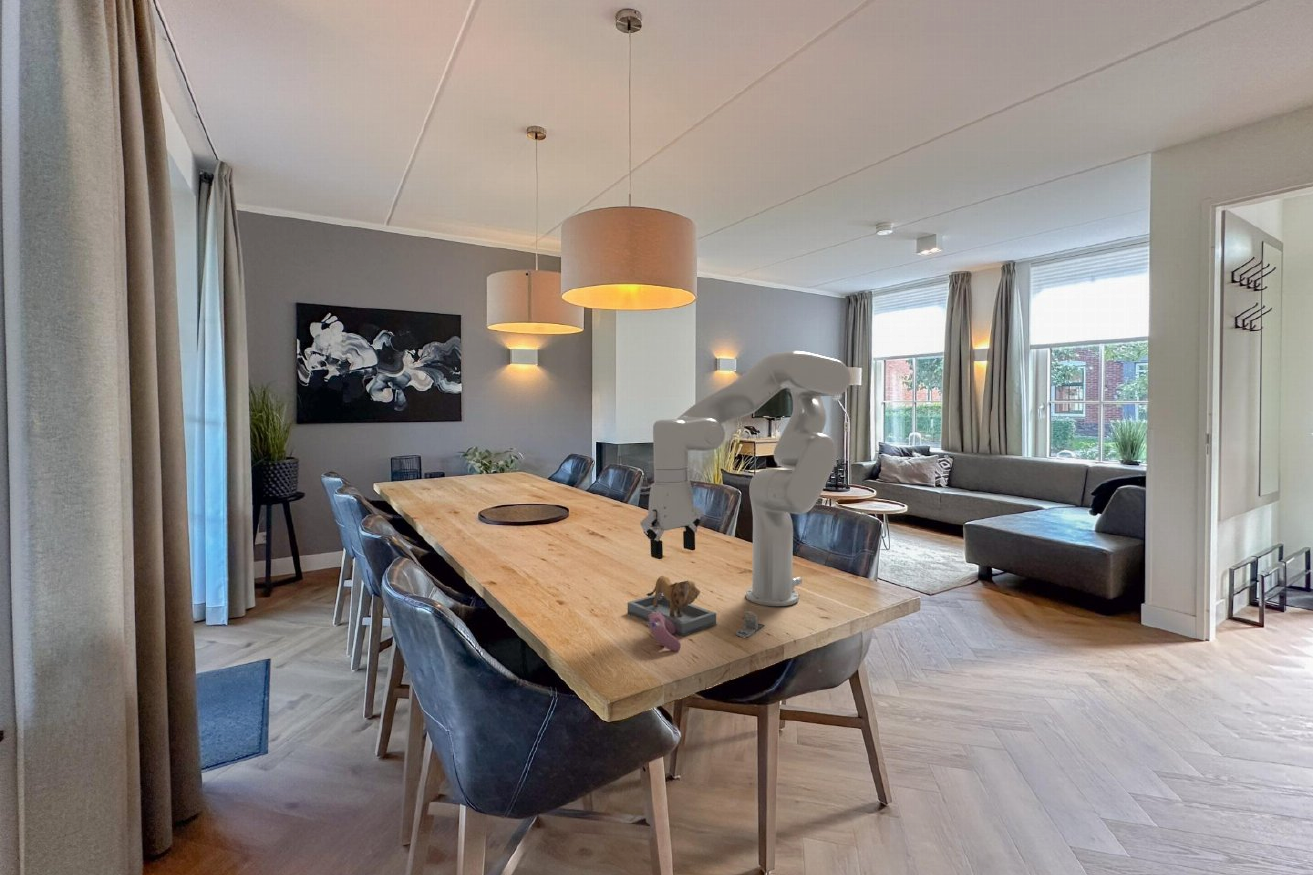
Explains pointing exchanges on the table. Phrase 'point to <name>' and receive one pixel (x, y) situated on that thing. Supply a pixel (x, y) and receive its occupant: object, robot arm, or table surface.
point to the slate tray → (684, 624)
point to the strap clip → (749, 626)
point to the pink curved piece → (663, 631)
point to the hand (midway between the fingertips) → (673, 553)
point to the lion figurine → (675, 594)
